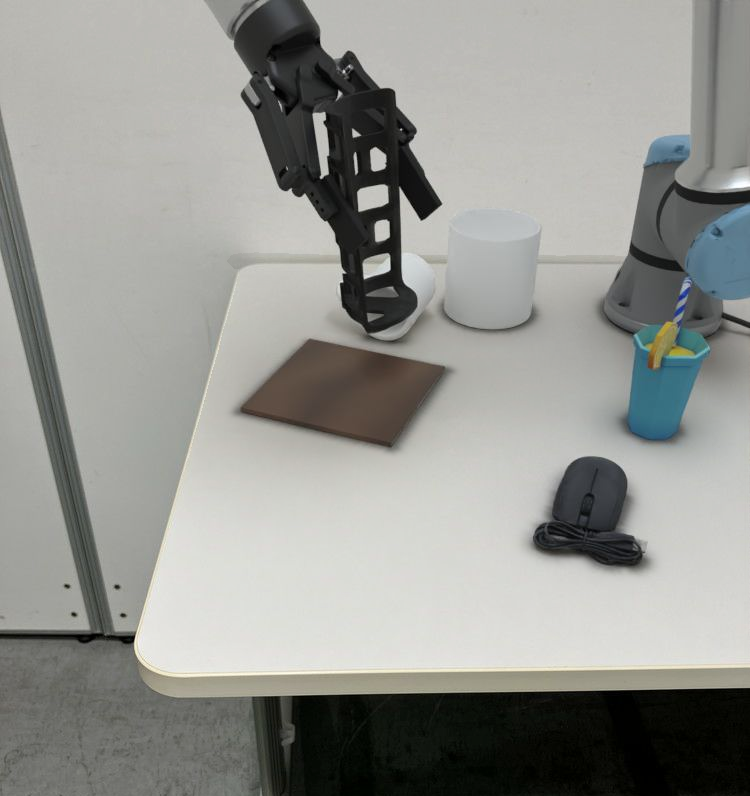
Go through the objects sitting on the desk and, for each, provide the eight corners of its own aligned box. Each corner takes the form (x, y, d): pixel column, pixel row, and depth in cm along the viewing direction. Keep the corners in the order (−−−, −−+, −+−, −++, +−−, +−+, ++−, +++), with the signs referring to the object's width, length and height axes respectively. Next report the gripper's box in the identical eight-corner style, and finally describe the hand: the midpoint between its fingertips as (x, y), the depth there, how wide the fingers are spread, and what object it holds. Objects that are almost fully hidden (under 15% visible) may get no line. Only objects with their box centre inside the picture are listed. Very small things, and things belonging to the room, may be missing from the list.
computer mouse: (647, 479, 94) (655, 448, 91) (642, 571, 82) (651, 538, 80) (548, 463, 96) (553, 432, 93) (530, 551, 84) (535, 518, 82)
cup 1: (548, 318, 123) (560, 231, 115) (475, 337, 118) (483, 247, 111) (497, 285, 131) (506, 202, 123) (427, 302, 126) (432, 216, 119)
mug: (434, 313, 123) (438, 256, 118) (411, 346, 116) (413, 286, 111) (351, 299, 126) (351, 243, 122) (323, 330, 119) (322, 271, 114)
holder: (407, 336, 87) (392, 114, 75) (330, 336, 89) (303, 118, 77) (424, 289, 96) (413, 83, 84) (354, 289, 97) (333, 87, 86)
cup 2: (627, 386, 108) (653, 266, 99) (695, 400, 106) (727, 278, 97) (606, 447, 98) (632, 319, 89) (680, 464, 96) (715, 334, 87)
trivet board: (444, 370, 111) (445, 366, 111) (391, 447, 98) (391, 442, 97) (309, 342, 116) (309, 338, 116) (240, 411, 103) (240, 407, 102)
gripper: (325, 29, 94) (442, 216, 95) (151, 67, 79) (293, 287, 81) (367, -25, 88) (490, 175, 90) (187, 6, 73) (339, 244, 75)
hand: (397, 228), depth 85 cm, fingers closed on holder, 10 cm apart
